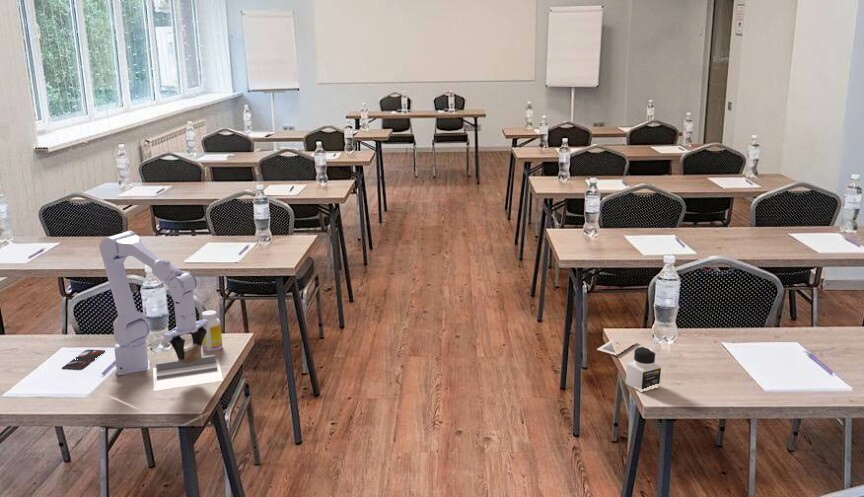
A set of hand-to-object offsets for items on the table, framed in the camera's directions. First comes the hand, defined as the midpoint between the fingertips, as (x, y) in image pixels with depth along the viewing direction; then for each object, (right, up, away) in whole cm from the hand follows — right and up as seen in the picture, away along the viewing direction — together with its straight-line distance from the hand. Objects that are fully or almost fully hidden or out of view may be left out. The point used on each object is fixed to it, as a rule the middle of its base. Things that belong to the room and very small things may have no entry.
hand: (189, 355), depth 226 cm
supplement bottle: (-1, -2, +27) cm, 27 cm away
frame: (0, -1, 0) cm, 1 cm away
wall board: (-2, -7, +6) cm, 10 cm away
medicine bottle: (+137, -9, -1) cm, 137 cm away
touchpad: (+136, -2, +27) cm, 139 cm away
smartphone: (-40, -5, +18) cm, 44 cm away
